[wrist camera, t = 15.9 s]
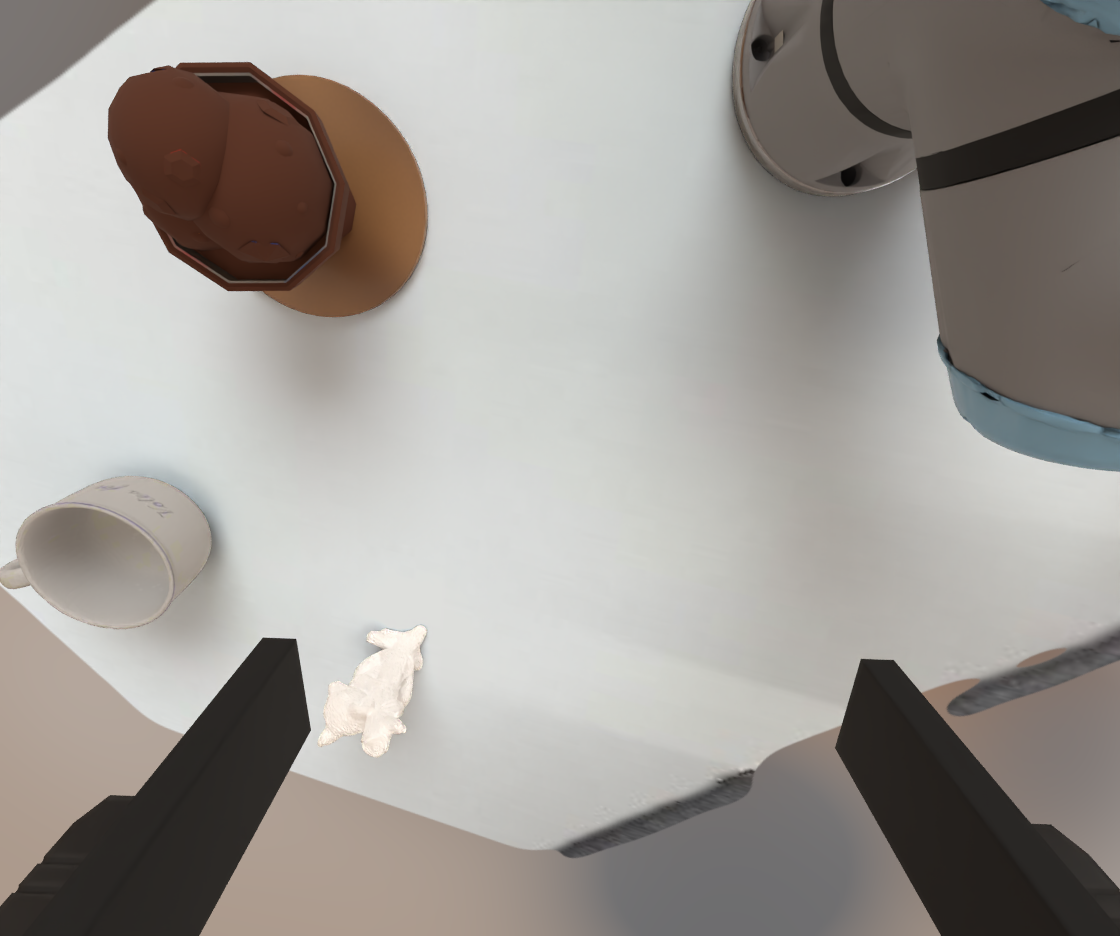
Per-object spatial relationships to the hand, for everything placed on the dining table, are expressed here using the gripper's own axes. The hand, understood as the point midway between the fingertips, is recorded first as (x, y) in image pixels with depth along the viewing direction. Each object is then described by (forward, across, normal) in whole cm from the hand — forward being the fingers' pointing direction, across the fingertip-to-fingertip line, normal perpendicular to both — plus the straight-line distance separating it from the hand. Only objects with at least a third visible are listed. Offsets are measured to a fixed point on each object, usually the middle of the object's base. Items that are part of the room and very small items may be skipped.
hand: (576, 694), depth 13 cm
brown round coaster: (+31, -18, +13) cm, 38 cm away
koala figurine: (+32, -15, -25) cm, 43 cm away
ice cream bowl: (+31, -18, +13) cm, 38 cm away
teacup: (+32, -35, -12) cm, 49 cm away
